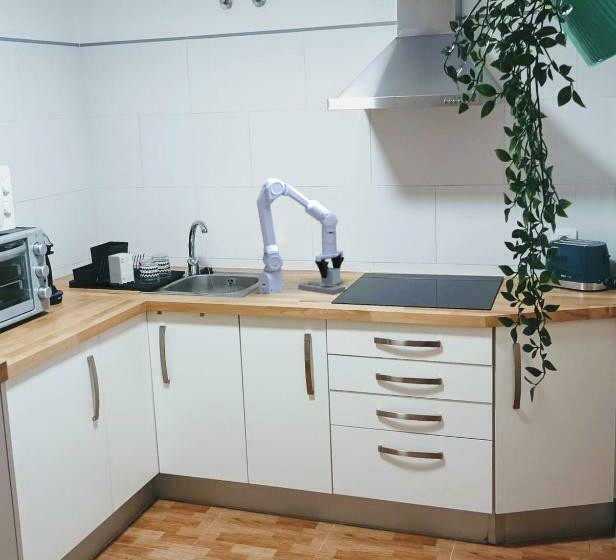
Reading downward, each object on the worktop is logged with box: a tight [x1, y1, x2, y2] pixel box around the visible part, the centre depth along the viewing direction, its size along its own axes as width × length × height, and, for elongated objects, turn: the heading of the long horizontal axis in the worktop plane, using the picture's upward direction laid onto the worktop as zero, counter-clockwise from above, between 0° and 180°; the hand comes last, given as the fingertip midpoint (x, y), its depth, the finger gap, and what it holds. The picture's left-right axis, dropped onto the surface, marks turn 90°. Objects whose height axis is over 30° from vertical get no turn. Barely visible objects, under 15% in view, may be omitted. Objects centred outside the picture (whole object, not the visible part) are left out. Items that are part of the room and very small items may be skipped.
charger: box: [321, 266, 341, 286], centre depth 320 cm, size 5×6×8 cm
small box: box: [107, 252, 135, 284], centre depth 339 cm, size 8×6×13 cm
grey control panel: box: [297, 281, 346, 296], centre depth 312 cm, size 7×18×3 cm, turn 48°
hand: (330, 276), depth 320 cm, fingers open, 7 cm apart
